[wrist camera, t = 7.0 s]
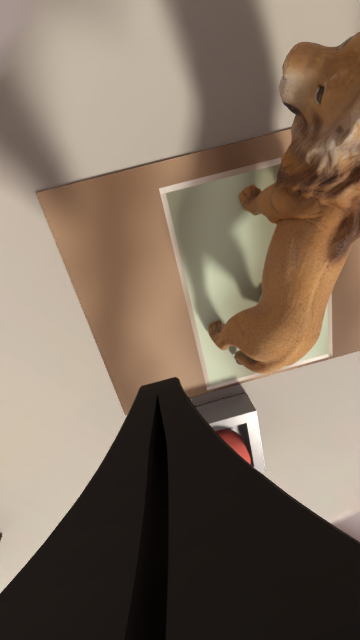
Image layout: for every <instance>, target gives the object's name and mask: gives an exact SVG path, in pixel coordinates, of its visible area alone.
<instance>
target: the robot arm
mask: <svg viewBox="0 0 360 640" xmlns="http://www.w3.org/2000/svg"><path fill="white" fill-rule="evenodd" d="M0 640H360V542H359V541H357V540H356V539H354V538H352V537H351V536H349V535H348V534H346V533H344V532H343V531H341V530H340V529H338V528H336V527H335V526H334V525H332V524H331V523H329V522H328V521H326V520H325V519H323V518H322V517H320V516H318V515H317V514H315V513H314V512H313V511H311V510H310V509H308V508H307V507H305V506H304V505H303V504H301V503H300V502H298V501H297V500H296V499H294V498H293V497H291V496H290V495H288V494H287V493H286V492H285V491H283V490H282V489H281V488H279V487H278V486H277V485H276V484H274V483H273V482H272V481H270V480H269V479H268V478H267V477H265V476H264V475H263V474H261V473H260V472H259V471H258V470H256V469H255V468H254V467H253V466H251V465H250V464H249V463H248V462H247V461H246V460H245V459H244V458H242V457H241V456H240V455H239V454H238V453H237V452H236V451H235V450H234V449H233V448H232V447H230V446H229V445H228V444H227V443H226V442H225V441H224V440H223V439H222V438H221V437H220V436H219V435H218V434H217V432H216V431H215V430H214V429H213V428H212V427H211V426H210V425H209V424H208V423H207V421H206V420H205V419H204V418H203V417H202V415H201V414H200V413H199V411H198V410H197V409H196V408H195V406H194V405H193V404H192V402H191V401H190V399H189V398H188V396H187V395H186V393H185V391H184V389H183V388H182V386H181V383H180V380H179V378H177V377H173V378H169V379H165V380H162V381H158V382H154V383H151V384H147V385H143V386H141V387H140V389H139V390H138V393H137V395H136V397H135V400H134V402H133V404H132V406H131V409H130V411H129V413H128V415H127V417H126V419H125V421H124V423H123V425H122V427H121V429H120V431H119V433H118V435H117V437H116V439H115V440H114V442H113V444H112V446H111V448H110V449H109V451H108V453H107V455H106V456H105V458H104V460H103V461H102V463H101V465H100V466H99V468H98V470H97V471H96V473H95V474H94V476H93V477H92V479H91V480H90V482H89V483H88V485H87V486H86V488H85V489H84V491H83V492H82V494H81V495H80V497H79V498H78V499H77V501H76V502H75V503H74V505H73V506H72V508H71V509H70V510H69V511H68V513H67V514H66V515H65V517H64V518H63V519H62V521H61V522H60V523H59V524H58V526H57V527H56V528H55V530H54V531H53V532H52V533H51V535H50V536H49V537H48V539H47V540H46V541H45V542H44V544H43V545H42V546H41V547H40V548H39V550H38V551H37V552H36V553H35V554H34V555H33V557H32V558H31V559H30V560H29V561H28V563H27V564H26V565H25V566H24V567H23V568H22V570H21V571H20V572H19V573H18V574H17V575H16V576H15V578H14V579H13V580H12V581H11V582H10V583H9V584H8V586H7V587H6V588H5V589H4V590H3V591H2V592H1V593H0Z"/></svg>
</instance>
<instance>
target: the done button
mask: <svg viewBox="0 0 360 640" xmlns="http://www.w3.org/2000/svg"><path fill="white" fill-rule="evenodd" d="M216 432H217V434H218V435H219V436H220V437H221V438H222V439H223V440H224V441H225V442H226V443H227V444H228V445H229V446H230V447H232V448H233V449H234V450H235V451H236V452H237V453H238V454H239V455H240V456H241V457H242V458H244V459H245V460H246V461H247V462H248V463H249V464H251V459H250V456H249V453H248V451H247V449H246V446H245V444H244V442H243V440H242V437H241V436H240V435H239V434H238V433H237V432H235V431H233V430H229V429H222V430H219V431H216Z"/></svg>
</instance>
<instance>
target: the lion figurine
mask: <svg viewBox="0 0 360 640" xmlns="http://www.w3.org/2000/svg"><path fill="white" fill-rule="evenodd" d="M279 92H280V96H281V98H282V102H283V104H284V105H285V106H287V107H288V109H289V110H290V111H291V112H293V113H294V114H296V116H295V119H294V122H293V124H292V127H291V135H292V140H291V144H290V145H289V147H288V149H287V151H286V152H285V153H284V155H283V156H282V158H281V164H280V167H279V170H278V173H277V181H276V182H275V183H274V184H272V185H270V186H268V187H267V188H265V189H264V190H263V191H261V189H260V188H257V187H256V186H255V185H253V184H252V185H250V186H248V187H245V188H244V189H243V191H242V192H241V193H240V194H239V199H240V202H241V205H242V206H243V208H244V209H245V210H246V211H247V212H249V213H251V214H253V215H254V216H257V215H259V214H262V215H264V216H266V217H267V219H268V220H269V221H270V222H271V223H274V224H276V228H275V231H274V233H273V236H272V238H271V241H270V244H269V247H268V250H267V255H266V259H265V263H264V268H263V274H262V294H261V295H260V298H259V303H258V304H257V305H256V306H253V307H251V308H248V309H245V310H243V311H241V312H239V313H237V314H235V315H234V316H232V317H231V318H230V319H229V320H228V321H227V322H226V324H224V323H223V322H222V321H220V320H218V321H214V322H212V323H211V324H210V325H209V327H208V333H209V336H210V337H211V339H212V341H213V342H214V343H215V344H216V346H217V347H218V348H220V349H221V350H227V349H228V347H230V346H235V347H237V348H239V349H240V350H239V351H237V352H236V353H235V356H234V358H235V360H236V363H237V364H239V365H243V366H245V367H246V368H247V369H249V370H251V371H253V372H256V373H261V374H268V373H272V372H275V371H277V370H279V369H281V368H283V367H284V366H290V365H292V364H294V363H296V362H297V361H299V360H300V359H301V358H302V357H304V356H305V355H306V354H307V353H308V352H309V351H310V350H311V348H312V347H313V346H314V345H315V343H316V342H317V340H318V338H319V336H320V333H321V328H322V323H323V319H324V314H325V310H326V306H327V303H328V300H329V298H330V295H331V293H332V290H333V288H334V285H335V283H336V281H337V279H338V276H339V274H340V272H341V270H342V268H343V266H344V264H345V261H346V259H347V256H348V254H349V252H350V249H351V247H352V245H353V243H354V241H355V240H357V239H358V238H360V32H358V33H357V34H356V35H354V36H352V37H350V38H349V39H347V40H346V41H345V42H344V43H342V44H341V45H339V46H337V47H326V46H322V45H320V44H317V43H311V42H301V43H298V44H296V45H295V46H294V47H293V48H292V49H291V50H290V52H289V53H288V55H287V56H286V59H285V61H284V64H283V77H282V79H281V82H280V86H279Z"/></svg>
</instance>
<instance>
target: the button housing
mask: <svg viewBox="0 0 360 640" xmlns="http://www.w3.org/2000/svg"><path fill="white" fill-rule="evenodd" d="M195 408H196V409H197V410H198V411H199V413H200V414H201V415H202V417H203V418H204V419H205V420H206V421H207V423H208V424H209V425H210V426H211V427H212V428H213V429H214V430H215V431H219V430H222V429H229V430H233V431H235V432H237V433H238V434H239V435H240V436H241V437H242V440H243V442H244V444H245V446H246V449H247V451H248V453H249V456H250V459H251V464H250V465H251V466H253V467H254V468H255V469H256V470H258V471H259V472H263V471H266V469H265V463H264V456H263V450H262V444H261V437H260V431H259V425H258V418H257V412H256V409H255V408H254V406H253V404H252V402H251V401H250V399H249V397H248V395H247V394H246V393H243V394H240V395H236V396H233V397H229V398H225V399H222V400H218V401H215V402H211V403H207V404H204V405H200V406H197V407H195Z"/></svg>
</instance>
